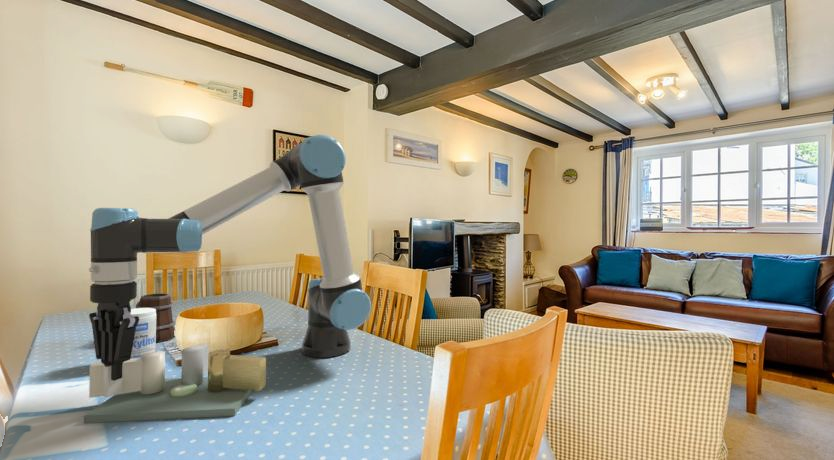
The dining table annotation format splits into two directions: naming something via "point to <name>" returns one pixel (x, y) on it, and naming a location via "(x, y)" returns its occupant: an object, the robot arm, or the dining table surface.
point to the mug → (160, 314)
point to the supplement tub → (144, 332)
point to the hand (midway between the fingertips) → (112, 394)
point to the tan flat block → (235, 371)
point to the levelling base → (174, 396)
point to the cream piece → (133, 375)
